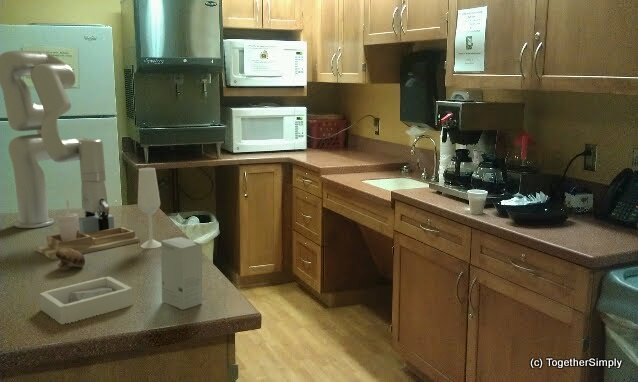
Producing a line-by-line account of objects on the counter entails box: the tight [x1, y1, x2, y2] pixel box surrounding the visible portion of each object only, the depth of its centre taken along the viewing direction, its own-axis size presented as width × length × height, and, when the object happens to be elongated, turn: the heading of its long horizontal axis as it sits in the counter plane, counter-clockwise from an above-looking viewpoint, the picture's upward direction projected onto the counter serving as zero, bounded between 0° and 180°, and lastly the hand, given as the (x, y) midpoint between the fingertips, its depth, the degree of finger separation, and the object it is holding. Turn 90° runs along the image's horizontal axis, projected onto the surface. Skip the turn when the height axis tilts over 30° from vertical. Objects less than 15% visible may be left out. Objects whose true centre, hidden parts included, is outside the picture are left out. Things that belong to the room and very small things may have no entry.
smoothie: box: [55, 200, 79, 241], centre depth 184 cm, size 6×6×14 cm
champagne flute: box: [137, 167, 161, 249], centre depth 187 cm, size 7×7×24 cm
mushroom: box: [56, 248, 86, 272], centre depth 167 cm, size 8×8×6 cm
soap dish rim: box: [39, 276, 134, 325], centre depth 139 cm, size 12×16×4 cm
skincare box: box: [160, 236, 203, 311], centre depth 141 cm, size 8×6×15 cm
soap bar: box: [70, 287, 113, 303], centre depth 142 cm, size 10×6×6 cm, turn 122°
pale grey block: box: [78, 213, 115, 234], centre depth 203 cm, size 4×10×6 cm, turn 126°
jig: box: [36, 226, 141, 261], centre depth 189 cm, size 13×27×4 cm, turn 134°
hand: (97, 227), depth 203 cm, fingers open, 9 cm apart
